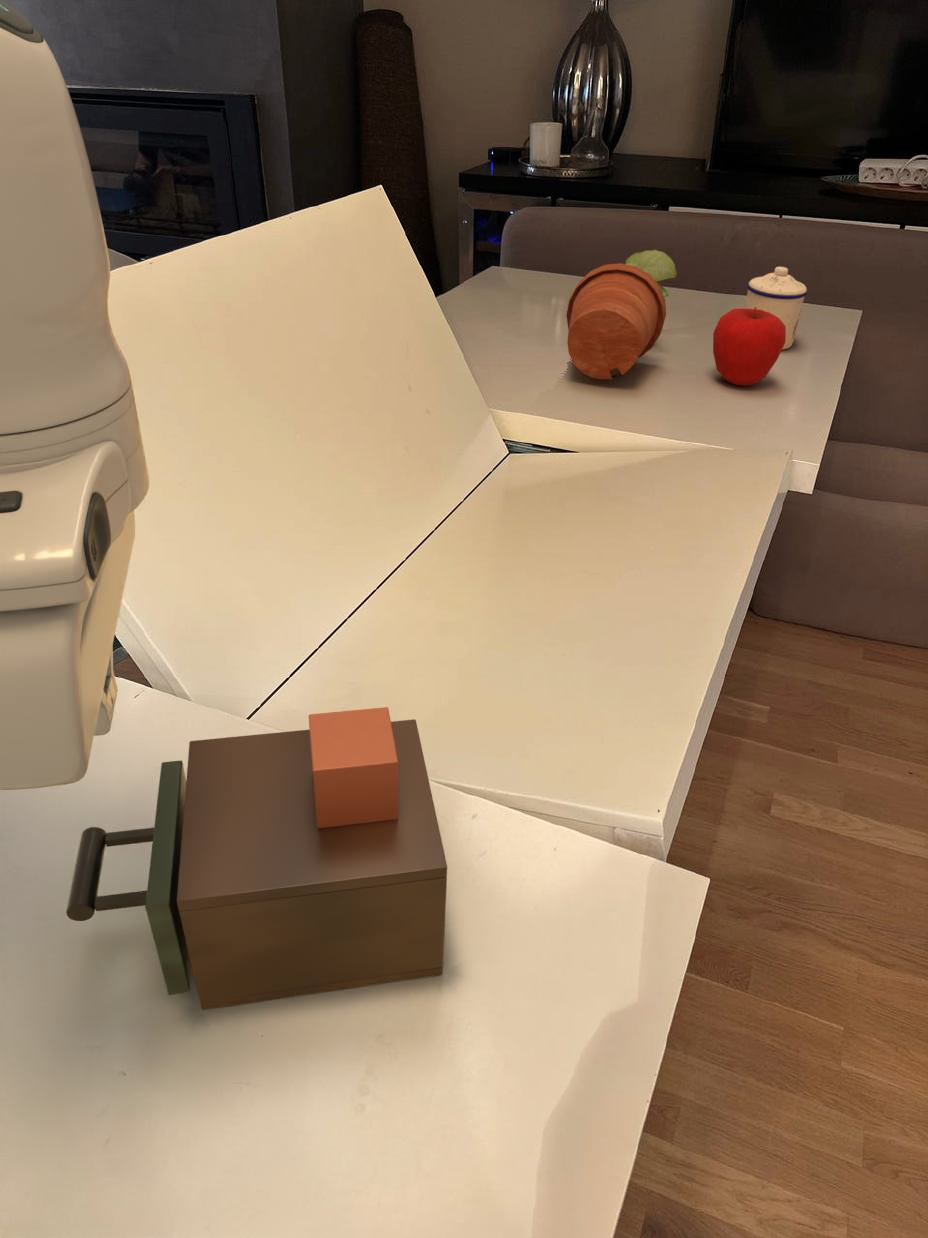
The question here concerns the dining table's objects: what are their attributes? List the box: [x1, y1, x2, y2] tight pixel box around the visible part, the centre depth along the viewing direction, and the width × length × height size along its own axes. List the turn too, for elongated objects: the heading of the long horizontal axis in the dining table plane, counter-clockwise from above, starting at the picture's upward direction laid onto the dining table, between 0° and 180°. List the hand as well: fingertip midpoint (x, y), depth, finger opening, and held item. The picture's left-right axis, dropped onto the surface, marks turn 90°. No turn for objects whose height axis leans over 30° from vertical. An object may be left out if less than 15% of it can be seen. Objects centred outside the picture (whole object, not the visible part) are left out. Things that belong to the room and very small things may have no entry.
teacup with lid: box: [743, 266, 808, 351], centre depth 146 cm, size 12×9×12 cm
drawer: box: [66, 760, 193, 996], centre depth 53 cm, size 17×10×8 cm, turn 101°
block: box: [308, 706, 398, 828], centre depth 50 cm, size 4×4×4 cm
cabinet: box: [177, 718, 448, 1010], centre depth 53 cm, size 14×12×10 cm
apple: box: [712, 307, 786, 387], centre depth 130 cm, size 10×10×11 cm
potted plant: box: [565, 249, 677, 380], centre depth 138 cm, size 16×15×35 cm
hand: (96, 716), depth 45 cm, fingers closed
